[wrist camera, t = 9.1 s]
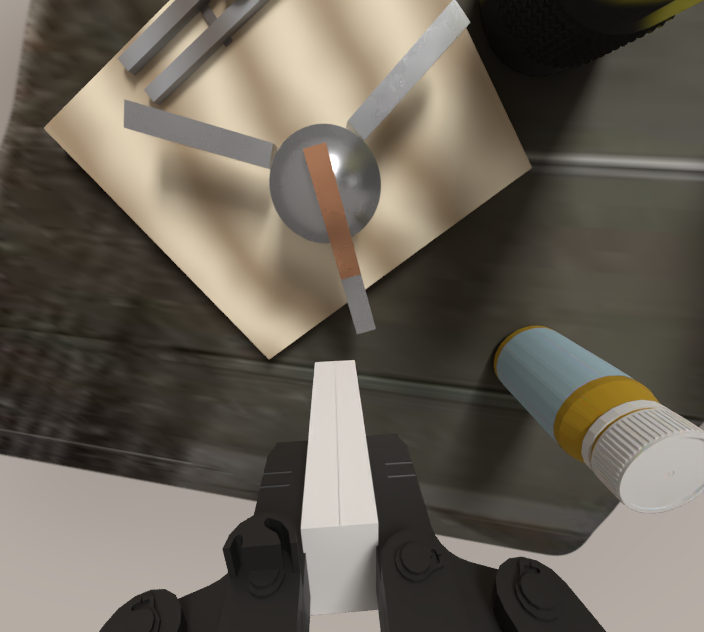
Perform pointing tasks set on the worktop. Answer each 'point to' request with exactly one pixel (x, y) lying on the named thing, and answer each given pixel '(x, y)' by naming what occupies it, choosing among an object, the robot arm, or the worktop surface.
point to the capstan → (319, 159)
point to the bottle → (604, 420)
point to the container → (569, 29)
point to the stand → (276, 126)
